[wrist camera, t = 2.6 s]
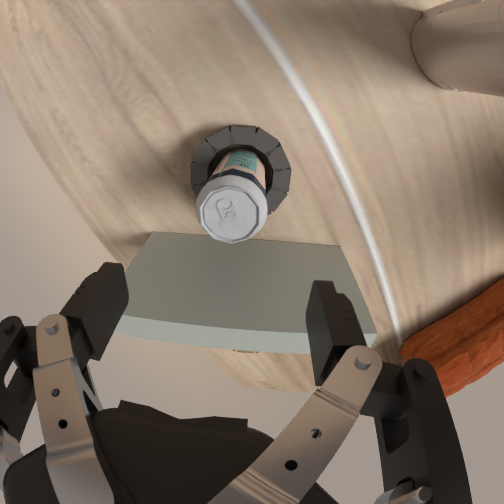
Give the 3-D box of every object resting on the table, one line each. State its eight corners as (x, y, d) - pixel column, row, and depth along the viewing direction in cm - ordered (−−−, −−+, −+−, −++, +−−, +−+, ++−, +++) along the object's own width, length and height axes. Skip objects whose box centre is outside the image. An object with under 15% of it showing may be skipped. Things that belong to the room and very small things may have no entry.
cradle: (197, 123, 26) (191, 125, 23) (292, 129, 26) (295, 132, 24) (196, 209, 30) (191, 218, 28) (282, 215, 30) (284, 225, 28)
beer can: (227, 197, 30) (209, 257, 19) (211, 156, 27) (180, 194, 17) (271, 184, 29) (277, 237, 18) (256, 141, 26) (253, 169, 16)
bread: (394, 338, 41) (414, 389, 32) (512, 263, 33) (545, 299, 24) (407, 377, 47) (421, 418, 38) (507, 315, 39) (530, 348, 30)
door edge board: (153, 231, 32) (100, 310, 20) (340, 246, 32) (377, 333, 20) (154, 249, 33) (107, 331, 21) (335, 263, 33) (367, 352, 21)
